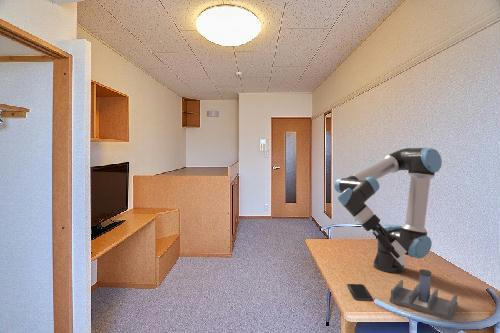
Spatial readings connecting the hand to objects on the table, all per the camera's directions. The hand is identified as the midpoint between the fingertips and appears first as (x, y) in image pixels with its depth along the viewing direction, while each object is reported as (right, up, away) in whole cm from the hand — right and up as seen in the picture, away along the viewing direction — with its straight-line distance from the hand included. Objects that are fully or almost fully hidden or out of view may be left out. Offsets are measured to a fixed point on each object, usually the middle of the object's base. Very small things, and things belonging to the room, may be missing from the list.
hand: (404, 258), depth 134 cm
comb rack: (+6, -18, -2) cm, 19 cm away
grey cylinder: (+7, -16, -3) cm, 18 cm away
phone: (-16, -18, +7) cm, 25 cm away
